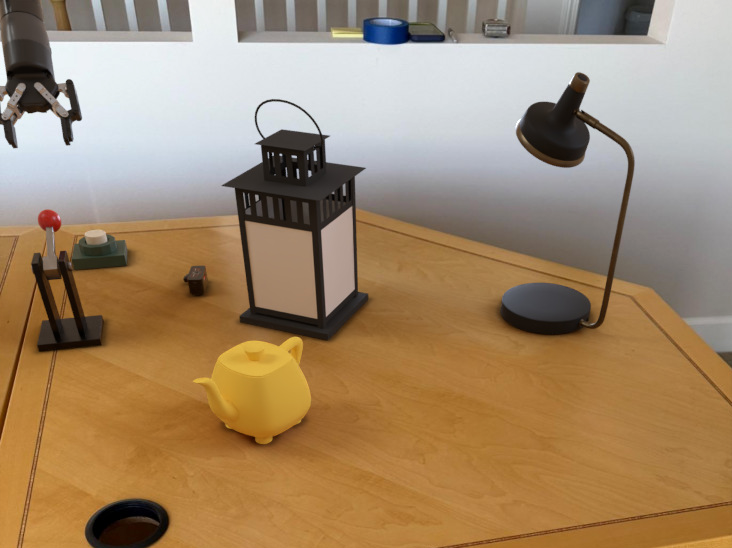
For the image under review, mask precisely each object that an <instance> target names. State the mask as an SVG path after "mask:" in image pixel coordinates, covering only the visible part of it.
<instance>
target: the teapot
mask: <svg viewBox="0 0 732 548" xmlns="http://www.w3.org/2000/svg"><path fill="white" fill-rule="evenodd" d="M303 347H304V342H303V339H302V338H301V337H300V336H299V337H298V336H291V337H289V338H287V340H285V341H284V342H282V343H281V344H280V345H276V344H274V343H270V342H266V341H263V340H247V341H244V342H241V343H239V344H237V345H234V346H232V347H231V348H230V349H228V350H226V351H224V352H223V353H221V354H220V355H219V356H218V357H217V359H216V362H215V364H214V367H213V371H212V373H211V377H199V378H195V379H193V380H192V383H194V384H197V385H200V386H202V387H203V388H204V390H205V392H206V397H207V402H208V406H209V407H210V410H211V411H212V412H213V414H214V415H215V416H216V417H217V418H218V419H219V420H220V421H221V422H222V423H224V425H225V427H226V428H227V429H230V430H233V431H235V432H237V433H240V434H244V435H245V436H249V437H254V441H255V442H256V443H257V444H260V445H267V444H269V443H271V442H272V441H273V439H274V438H273V437H275V436H277V435H280V434H282V433H284V432H286V431H287V430H289V429H291V428H292V427H294V426H296V425H299V424H300V423H301V422H302V419H304V417H305V416H306V415H307V413H308V411H309V410H310V408H311V405H312V395H311V390H310V387H309V383H308V381H307V378H306V376H305V374H304V372H303V371H302V369H301V367H300V362H301V359H302V355H303V349H304V348H303Z"/></svg>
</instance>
